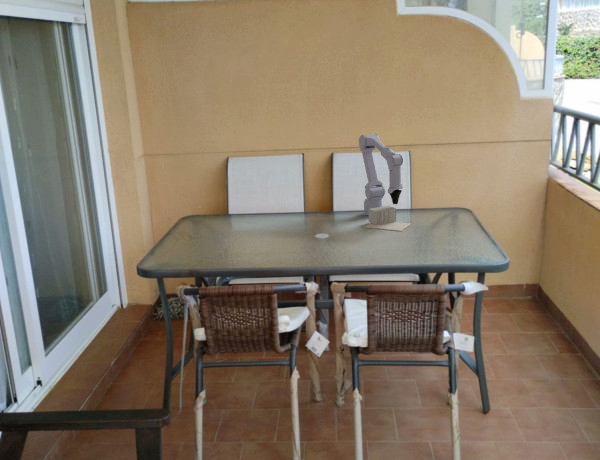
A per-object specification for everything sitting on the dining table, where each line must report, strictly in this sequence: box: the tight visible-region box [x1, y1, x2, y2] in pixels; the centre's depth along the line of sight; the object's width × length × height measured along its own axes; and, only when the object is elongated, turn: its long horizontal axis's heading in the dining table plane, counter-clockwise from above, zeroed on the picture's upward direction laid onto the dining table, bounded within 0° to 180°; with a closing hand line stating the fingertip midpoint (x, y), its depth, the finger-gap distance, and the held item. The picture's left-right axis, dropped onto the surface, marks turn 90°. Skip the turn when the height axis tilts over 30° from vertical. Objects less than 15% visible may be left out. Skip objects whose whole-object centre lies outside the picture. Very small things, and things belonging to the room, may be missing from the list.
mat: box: [364, 221, 412, 232], centre depth 308 cm, size 20×14×1 cm
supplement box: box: [368, 205, 397, 225], centre depth 313 cm, size 7×7×13 cm
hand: (395, 204), depth 313 cm, fingers closed
